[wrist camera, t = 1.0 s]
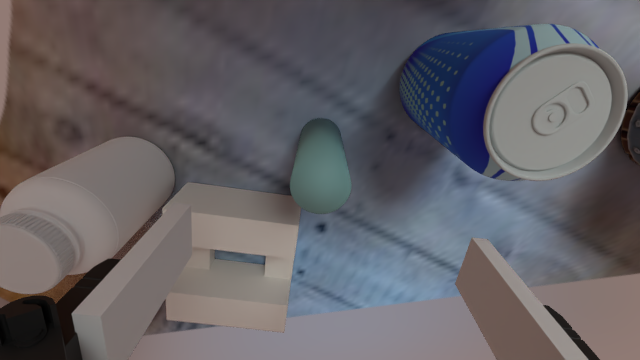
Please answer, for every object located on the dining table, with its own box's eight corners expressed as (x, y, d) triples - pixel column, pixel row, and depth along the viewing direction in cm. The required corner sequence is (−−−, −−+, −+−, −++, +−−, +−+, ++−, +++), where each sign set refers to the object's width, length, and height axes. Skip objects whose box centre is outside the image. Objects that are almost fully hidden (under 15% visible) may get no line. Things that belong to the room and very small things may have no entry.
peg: (303, 115, 32) (293, 153, 21) (344, 121, 32) (356, 161, 21) (298, 154, 33) (286, 209, 22) (337, 160, 33) (345, 217, 22)
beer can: (477, 128, 32) (611, 199, 17) (391, 126, 32) (452, 195, 17) (497, 34, 29) (681, 22, 14) (401, 31, 29) (486, 17, 14)
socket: (187, 182, 34) (162, 208, 29) (302, 197, 35) (298, 225, 29) (188, 280, 39) (166, 319, 34) (289, 292, 40) (284, 332, 34)
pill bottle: (126, 216, 36) (3, 324, 22) (83, 149, 33) (-89, 224, 19) (191, 194, 35) (106, 293, 21) (153, 123, 32) (25, 183, 18)
